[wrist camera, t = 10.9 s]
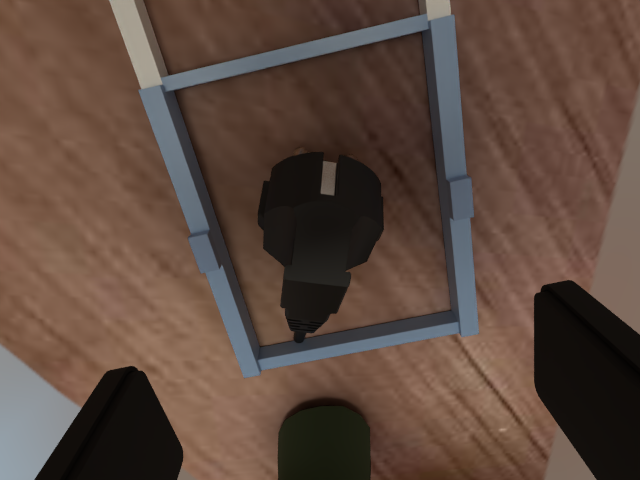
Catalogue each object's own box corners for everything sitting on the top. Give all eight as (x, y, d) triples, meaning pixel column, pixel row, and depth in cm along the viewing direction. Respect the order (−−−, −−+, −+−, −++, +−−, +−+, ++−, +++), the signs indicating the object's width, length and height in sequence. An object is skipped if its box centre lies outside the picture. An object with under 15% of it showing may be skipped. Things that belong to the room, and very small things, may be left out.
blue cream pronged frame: (-6, -353, 14) (-61, -427, 12) (398, -483, 13) (415, -587, 11) (248, 360, 25) (242, 385, 23) (468, 318, 25) (483, 340, 22)
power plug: (251, 346, 24) (244, 242, 14) (267, 240, 28) (272, 100, 18) (343, 356, 24) (402, 262, 14) (347, 250, 28) (395, 118, 18)
